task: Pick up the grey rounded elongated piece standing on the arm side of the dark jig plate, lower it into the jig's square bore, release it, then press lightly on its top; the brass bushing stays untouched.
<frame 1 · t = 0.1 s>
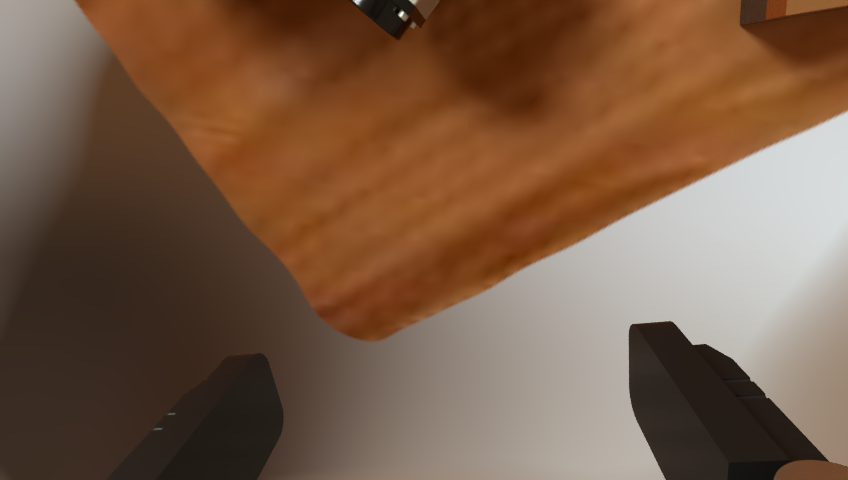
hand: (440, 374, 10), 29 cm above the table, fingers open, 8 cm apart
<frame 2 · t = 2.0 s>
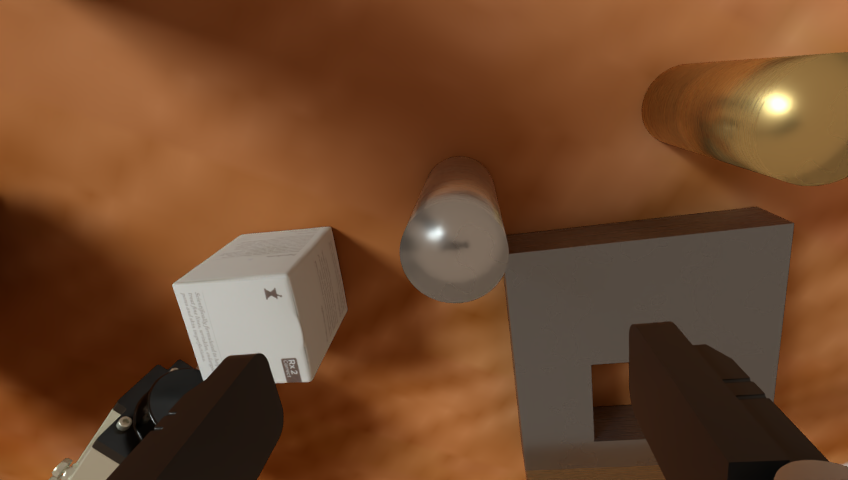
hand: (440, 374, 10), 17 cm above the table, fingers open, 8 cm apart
brass bushing: (682, 105, 23), on the table
grey rounded elongated piece: (459, 191, 26), on the table
pneumatic valve: (216, 373, 32), on the table
skincare box: (297, 272, 29), on the table
jig: (624, 343, 28), on the table
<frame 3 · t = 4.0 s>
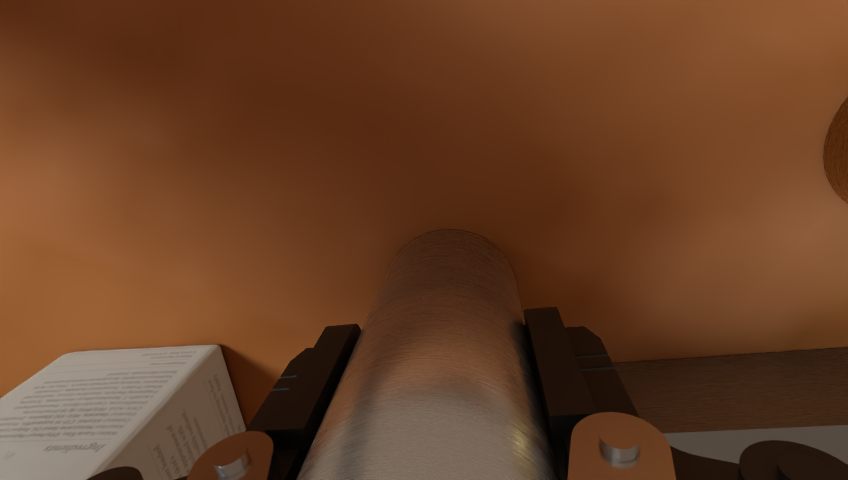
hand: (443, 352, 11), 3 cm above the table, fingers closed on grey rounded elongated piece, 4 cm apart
grey rounded elongated piece: (450, 291, 14), on the table, touching gripper
skincare box: (173, 411, 17), on the table
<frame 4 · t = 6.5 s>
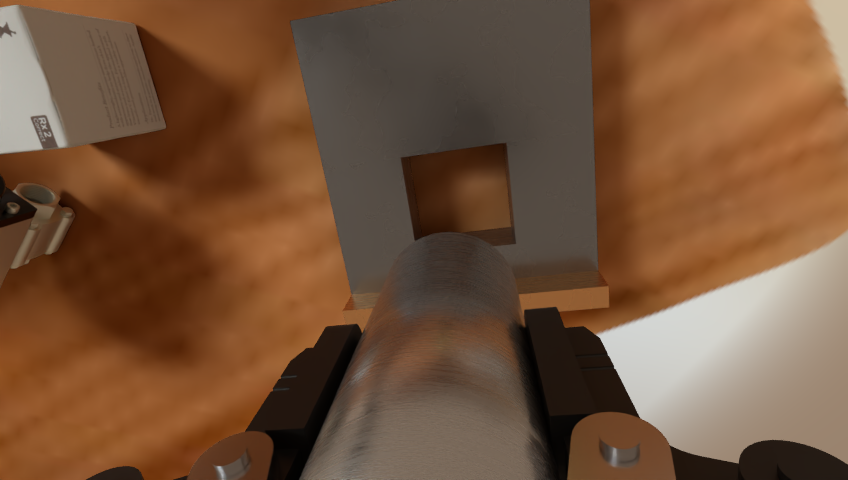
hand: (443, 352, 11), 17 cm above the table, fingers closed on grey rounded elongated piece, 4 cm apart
grey rounded elongated piece: (450, 293, 14), point 14 cm above the table, touching gripper
pneumatic valve: (44, 212, 30), on the table
skincare box: (111, 85, 27), on the table
jig: (456, 155, 26), on the table
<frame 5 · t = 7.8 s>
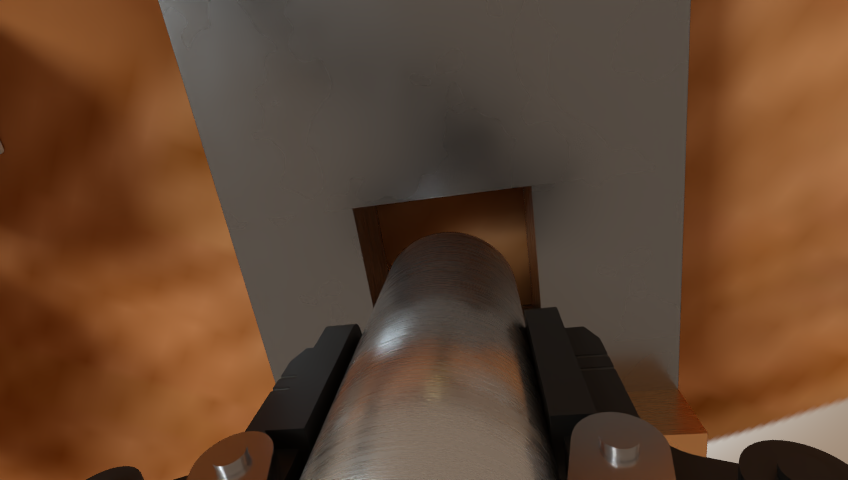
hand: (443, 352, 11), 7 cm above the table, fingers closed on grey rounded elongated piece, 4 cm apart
grey rounded elongated piece: (450, 293, 14), point 4 cm above the table, touching gripper
jig: (447, 197, 17), on the table
when the fingers open (4 cm above the table, at t = 9.1 s): grey rounded elongated piece stays where it is, resting in jig.
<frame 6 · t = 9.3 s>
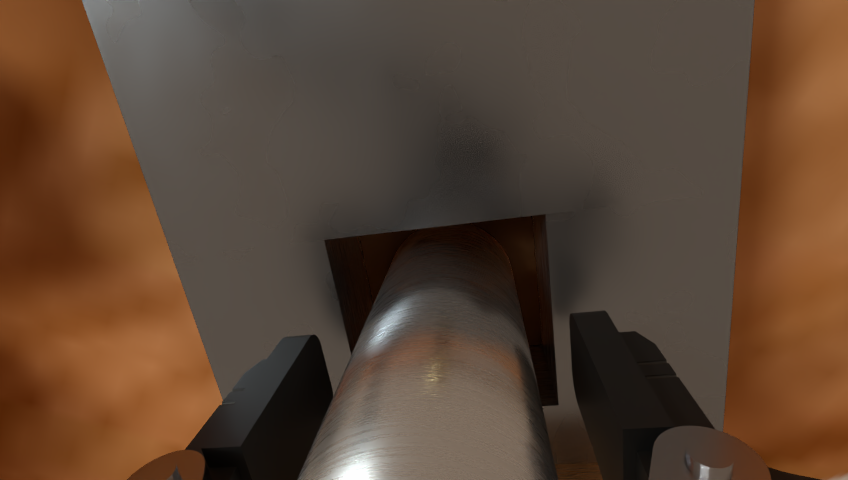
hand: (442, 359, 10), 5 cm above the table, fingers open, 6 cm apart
grey rounded elongated piece: (450, 279, 15), resting in jig
jig: (442, 221, 14), on the table
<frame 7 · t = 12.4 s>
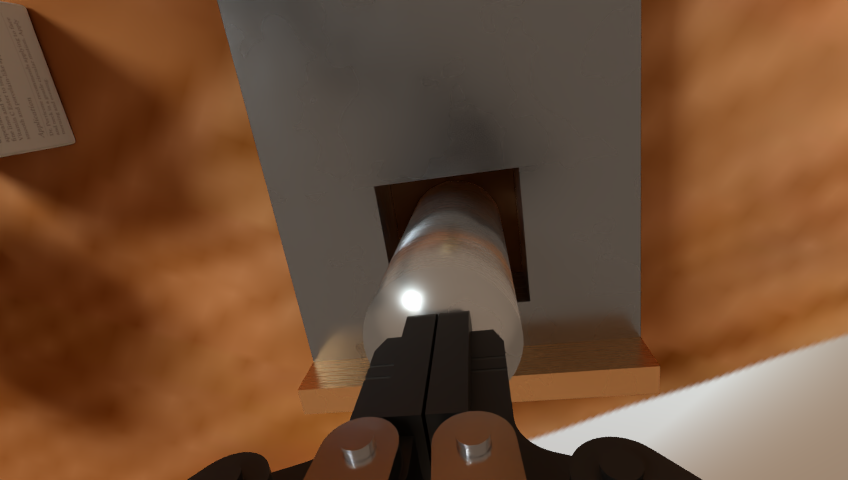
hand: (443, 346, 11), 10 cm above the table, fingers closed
grey rounded elongated piece: (456, 223, 21), resting in jig
skincare box: (3, 86, 21), on the table
jig: (450, 180, 20), on the table
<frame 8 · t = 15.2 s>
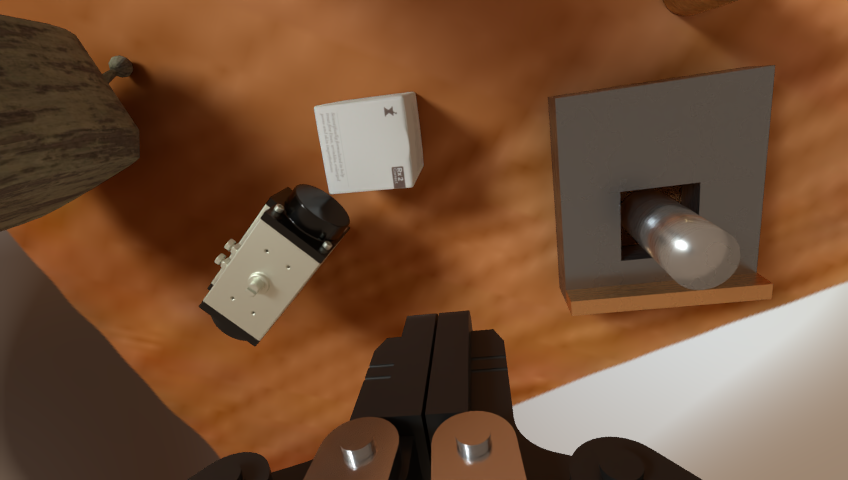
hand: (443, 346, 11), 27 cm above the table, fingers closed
grey rounded elongated piece: (644, 212, 36), resting in jig
tabletop clock: (105, 127, 39), on the table
pneumatic valve: (311, 227, 40), on the table
skincare box: (384, 134, 36), on the table
jig: (644, 188, 36), on the table
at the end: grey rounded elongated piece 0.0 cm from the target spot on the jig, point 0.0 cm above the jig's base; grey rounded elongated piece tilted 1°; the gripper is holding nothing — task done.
